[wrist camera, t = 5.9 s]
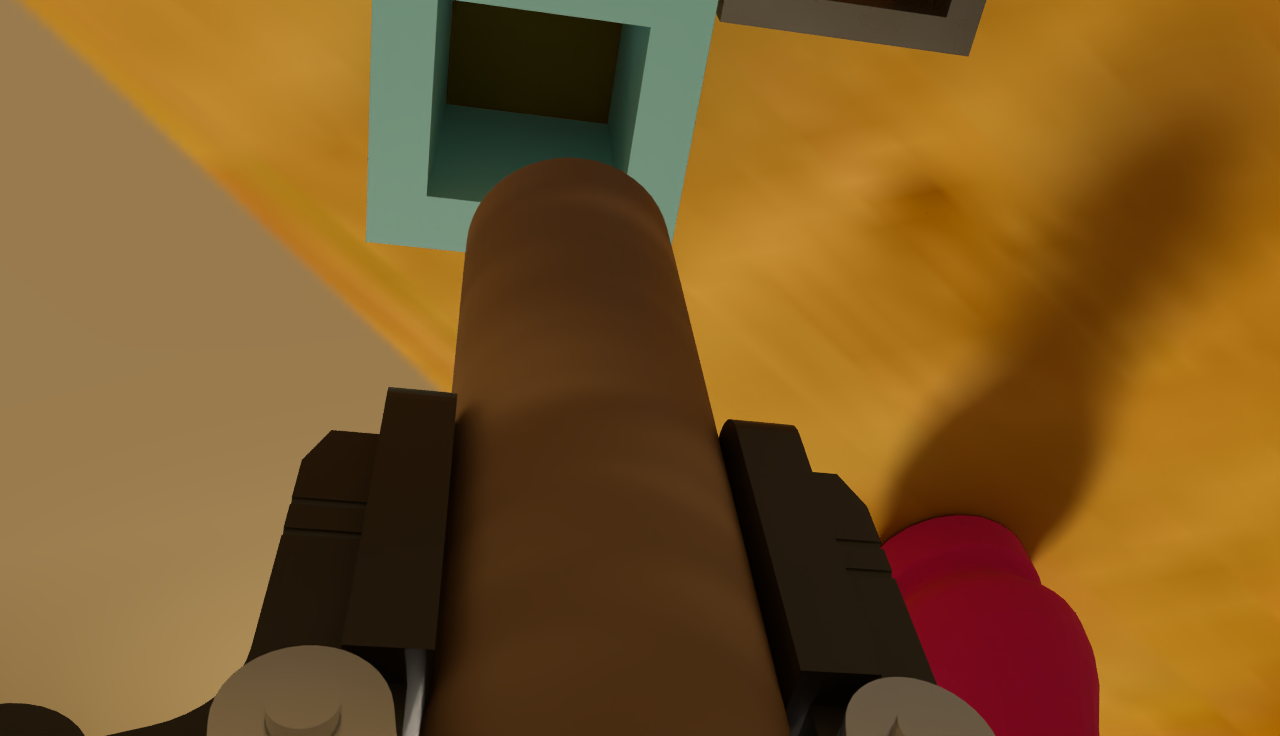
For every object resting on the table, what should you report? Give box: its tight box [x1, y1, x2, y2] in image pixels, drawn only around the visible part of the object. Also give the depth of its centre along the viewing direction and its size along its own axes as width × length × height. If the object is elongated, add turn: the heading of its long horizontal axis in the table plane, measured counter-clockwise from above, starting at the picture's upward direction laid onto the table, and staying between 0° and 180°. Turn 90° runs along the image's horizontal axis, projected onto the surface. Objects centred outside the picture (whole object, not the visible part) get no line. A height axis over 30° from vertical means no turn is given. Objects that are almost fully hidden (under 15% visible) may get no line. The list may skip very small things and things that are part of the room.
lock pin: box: [419, 158, 791, 736], centre depth 11 cm, size 4×4×12 cm
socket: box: [366, 0, 718, 252], centre depth 26 cm, size 7×7×6 cm
